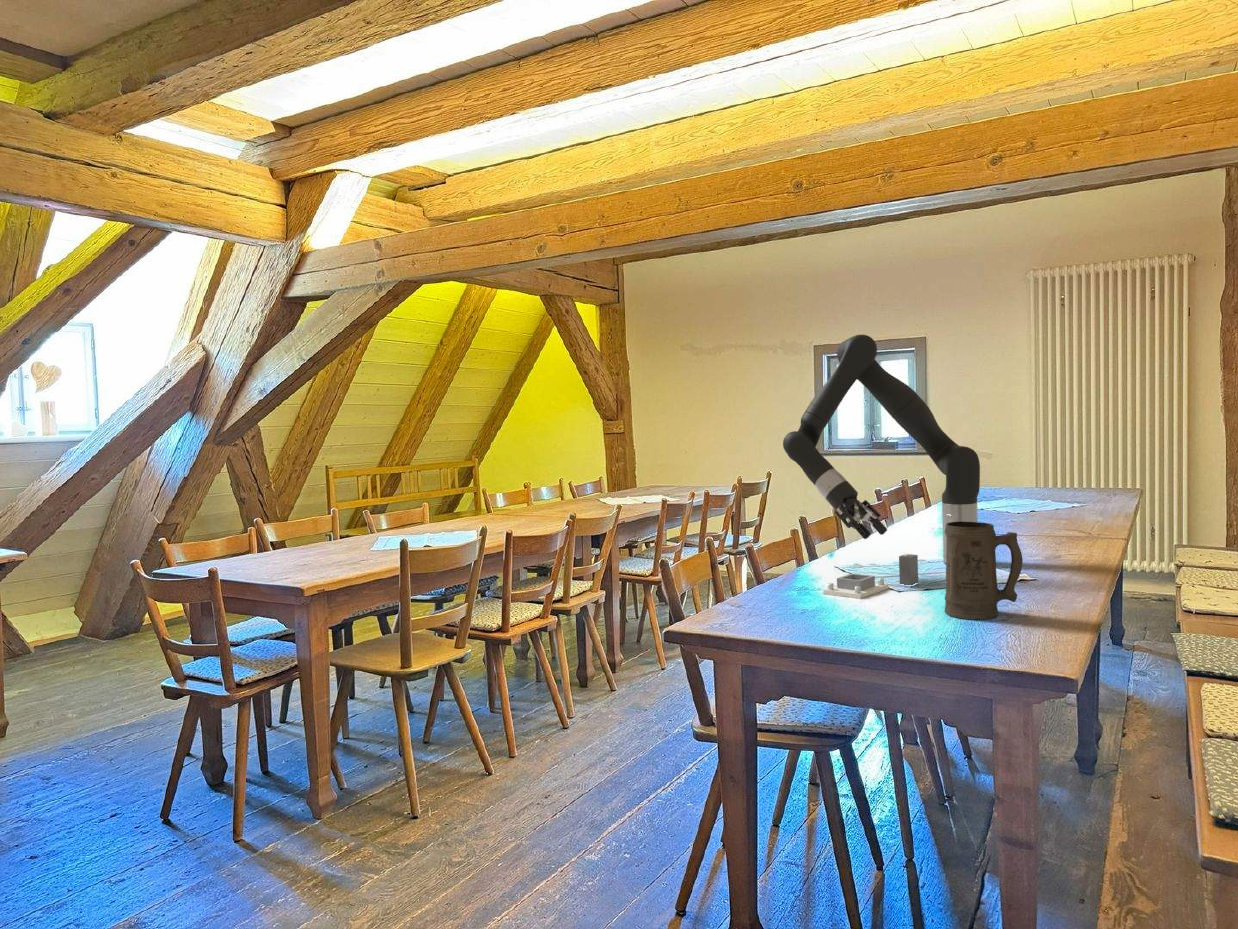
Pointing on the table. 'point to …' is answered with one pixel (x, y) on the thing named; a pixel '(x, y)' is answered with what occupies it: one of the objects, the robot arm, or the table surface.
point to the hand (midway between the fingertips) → (876, 534)
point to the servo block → (908, 569)
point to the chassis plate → (856, 586)
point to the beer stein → (977, 570)
